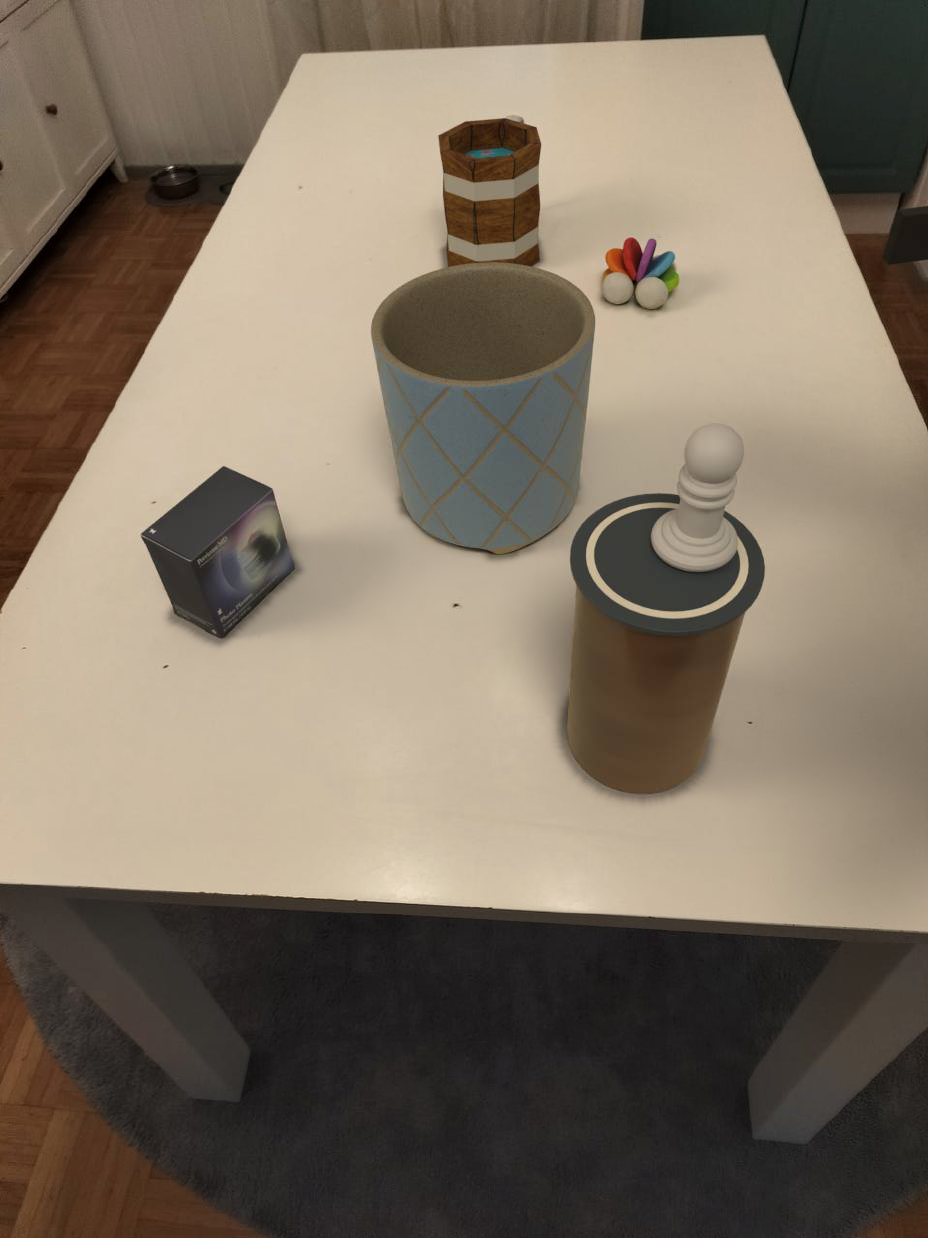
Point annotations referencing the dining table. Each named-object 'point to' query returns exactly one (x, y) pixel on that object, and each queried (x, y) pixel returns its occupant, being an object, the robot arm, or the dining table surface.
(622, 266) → the rainbow petal fan toy
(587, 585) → the slate board
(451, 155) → the mug
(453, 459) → the planter
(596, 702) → the walnut pedestal
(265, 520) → the small box
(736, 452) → the chess piece
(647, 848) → the dining table surface
